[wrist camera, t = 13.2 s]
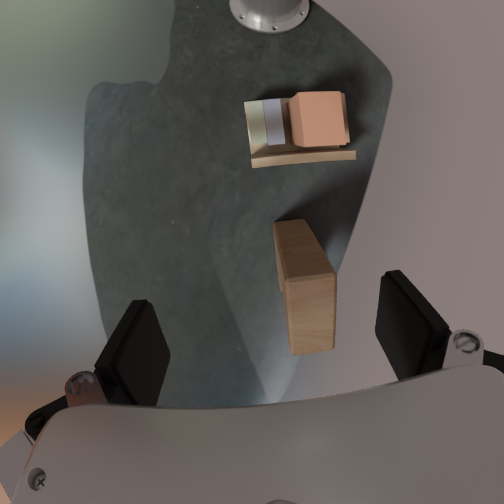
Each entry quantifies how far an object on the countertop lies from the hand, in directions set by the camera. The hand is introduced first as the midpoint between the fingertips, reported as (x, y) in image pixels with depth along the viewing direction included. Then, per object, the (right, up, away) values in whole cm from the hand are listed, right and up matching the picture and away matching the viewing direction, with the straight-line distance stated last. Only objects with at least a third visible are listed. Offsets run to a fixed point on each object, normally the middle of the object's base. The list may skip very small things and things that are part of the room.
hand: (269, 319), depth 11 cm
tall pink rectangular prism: (+7, +22, +29) cm, 38 cm away
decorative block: (+6, +3, +38) cm, 39 cm away
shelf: (+5, +22, +30) cm, 38 cm away
